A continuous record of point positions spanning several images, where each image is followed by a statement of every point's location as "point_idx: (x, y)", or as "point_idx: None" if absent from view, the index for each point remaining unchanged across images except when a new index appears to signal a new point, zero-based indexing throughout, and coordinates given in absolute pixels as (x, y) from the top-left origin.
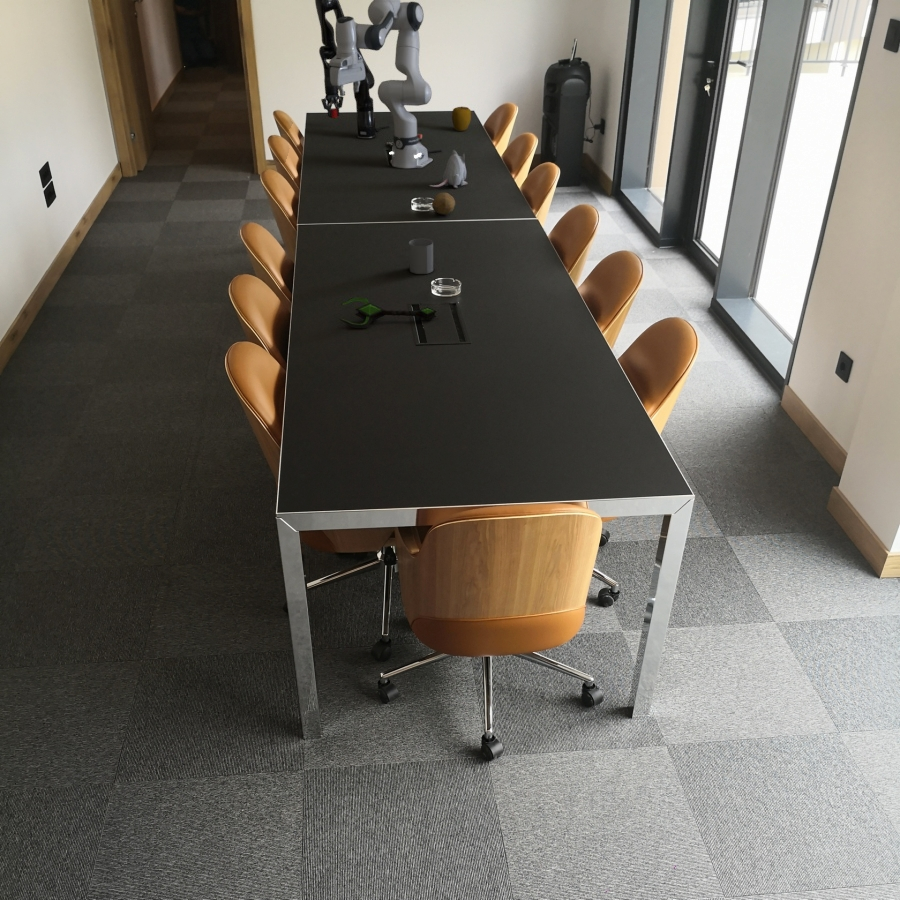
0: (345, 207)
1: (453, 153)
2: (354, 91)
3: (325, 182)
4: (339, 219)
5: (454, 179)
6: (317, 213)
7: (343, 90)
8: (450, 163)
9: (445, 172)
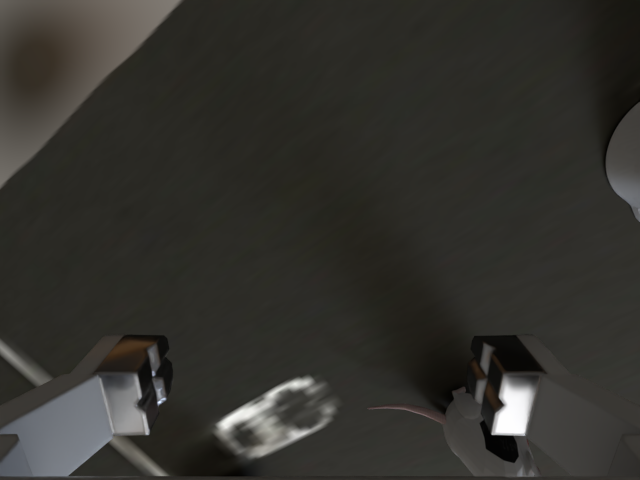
0: (110, 277)
1: (536, 471)
2: (475, 355)
3: (286, 15)
4: (23, 327)
5: (447, 441)
6: (7, 245)
7: (92, 454)
8: (473, 465)
9: (460, 426)
